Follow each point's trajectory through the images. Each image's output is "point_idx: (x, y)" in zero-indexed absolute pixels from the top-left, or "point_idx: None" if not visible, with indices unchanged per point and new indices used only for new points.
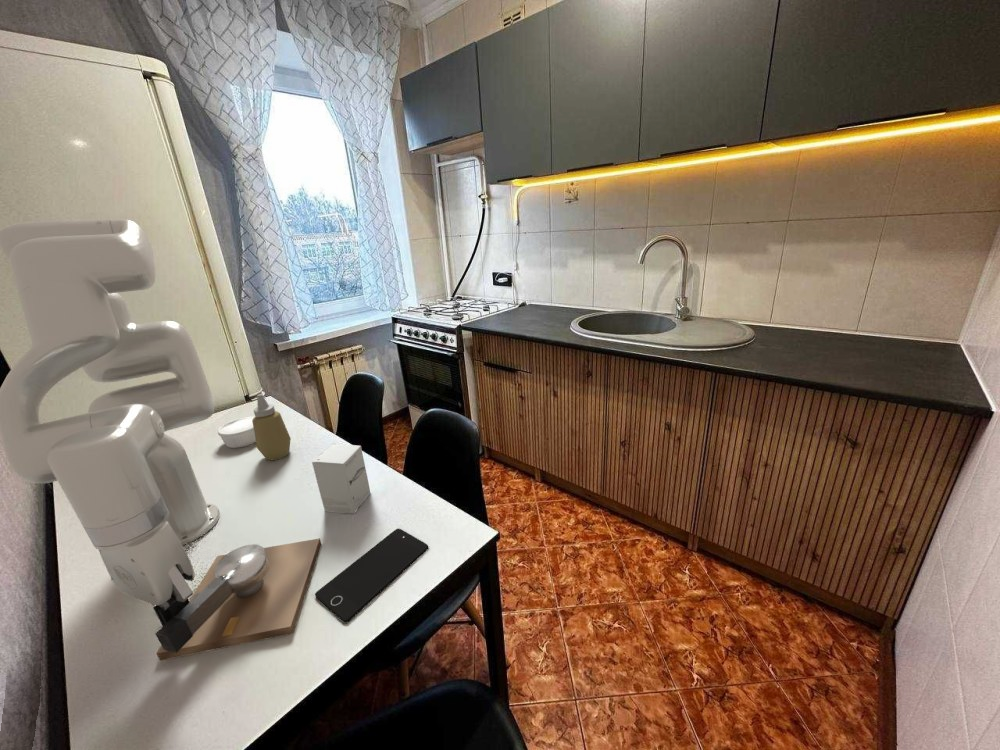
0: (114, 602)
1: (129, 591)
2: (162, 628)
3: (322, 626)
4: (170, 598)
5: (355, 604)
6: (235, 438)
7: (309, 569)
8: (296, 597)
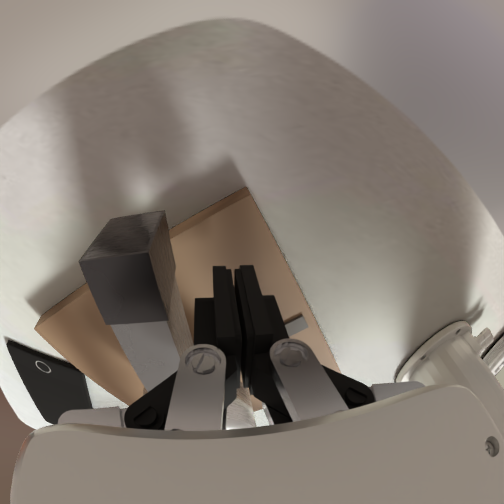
0: (454, 249)
1: (349, 471)
2: (144, 278)
3: (23, 332)
4: (137, 421)
5: (20, 364)
6: None
7: (126, 403)
8: (83, 369)
